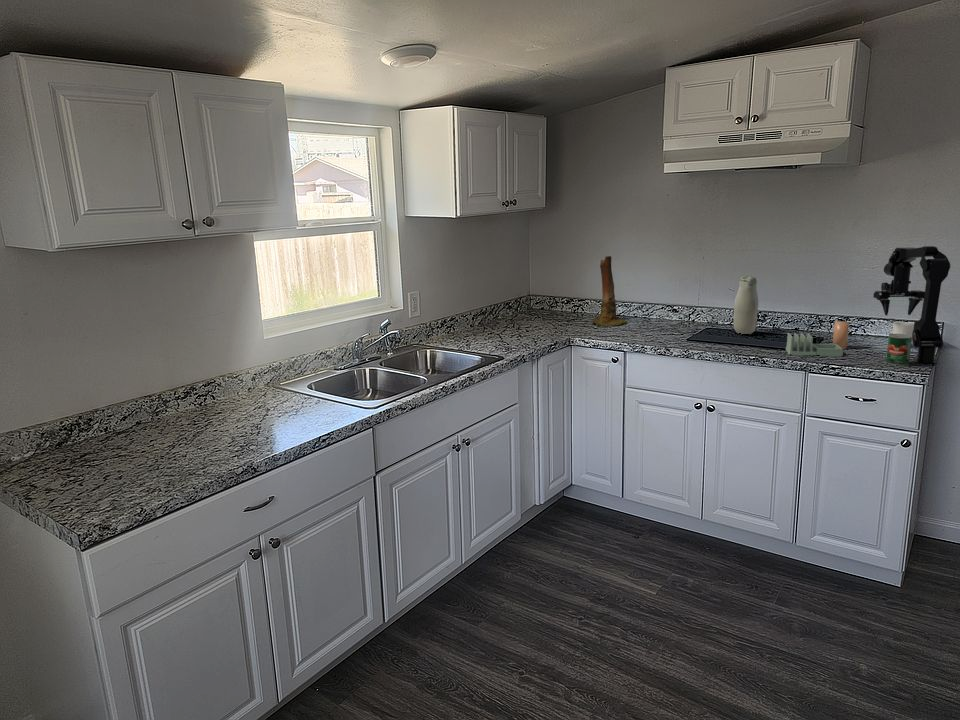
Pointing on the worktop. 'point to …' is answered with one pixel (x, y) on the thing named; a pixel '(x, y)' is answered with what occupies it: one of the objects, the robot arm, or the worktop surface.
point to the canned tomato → (898, 349)
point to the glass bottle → (746, 306)
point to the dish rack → (810, 346)
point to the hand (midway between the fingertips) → (897, 315)
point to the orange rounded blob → (841, 333)
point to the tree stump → (608, 297)
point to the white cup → (903, 328)
